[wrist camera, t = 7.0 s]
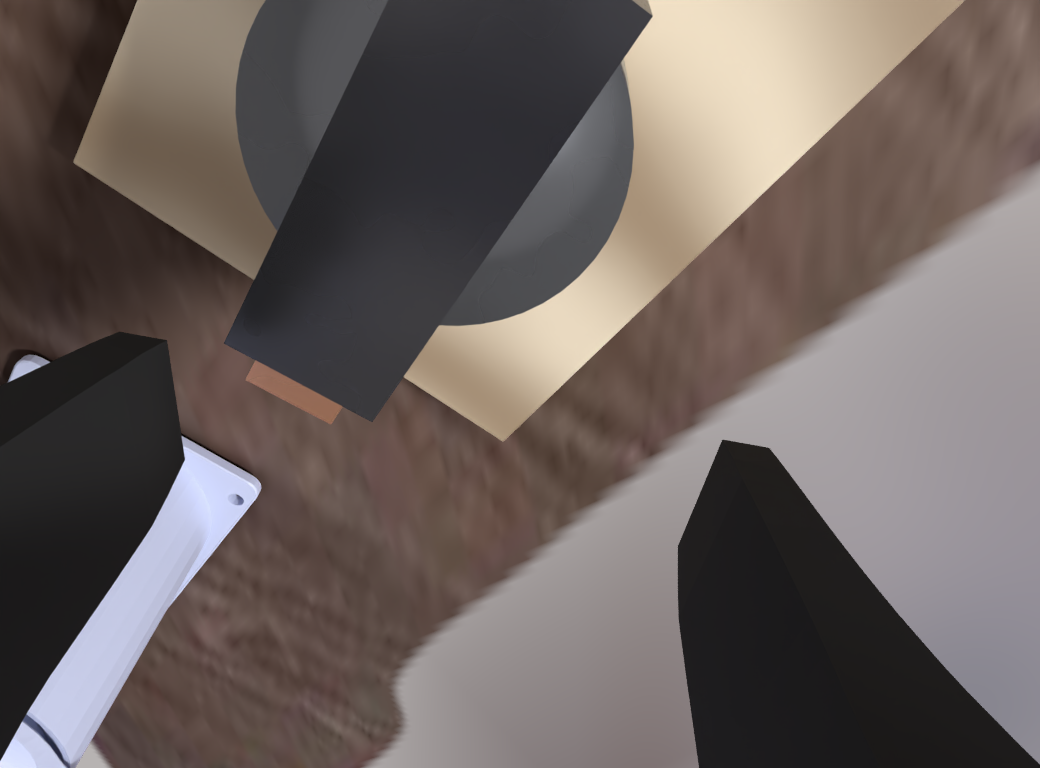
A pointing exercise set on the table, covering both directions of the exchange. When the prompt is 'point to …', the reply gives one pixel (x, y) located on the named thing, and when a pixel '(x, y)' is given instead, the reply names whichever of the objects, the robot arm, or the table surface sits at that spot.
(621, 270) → the cream base plate
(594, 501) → the table surface
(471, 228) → the rotary knob
